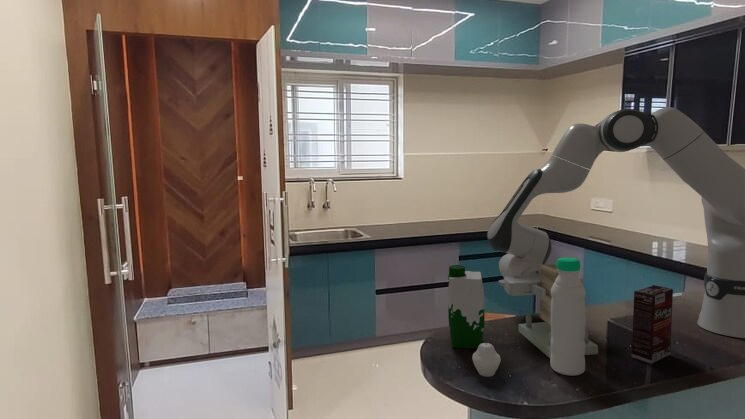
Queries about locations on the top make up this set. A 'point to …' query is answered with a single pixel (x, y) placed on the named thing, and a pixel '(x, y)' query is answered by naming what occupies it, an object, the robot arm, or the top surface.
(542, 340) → the peg rest
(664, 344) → the supplement box
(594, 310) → the top surface
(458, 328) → the milk carton
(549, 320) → the upright wooden block
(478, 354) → the white bulb shape
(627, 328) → the top surface
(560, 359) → the water bottle
